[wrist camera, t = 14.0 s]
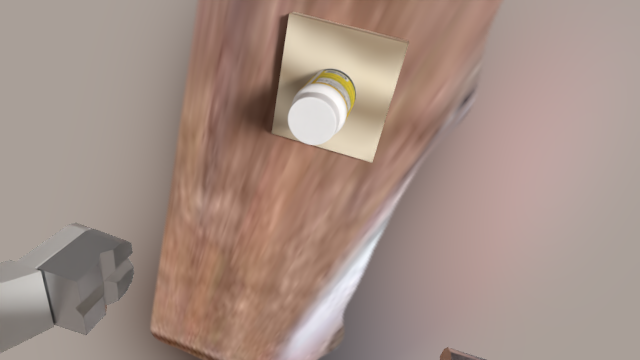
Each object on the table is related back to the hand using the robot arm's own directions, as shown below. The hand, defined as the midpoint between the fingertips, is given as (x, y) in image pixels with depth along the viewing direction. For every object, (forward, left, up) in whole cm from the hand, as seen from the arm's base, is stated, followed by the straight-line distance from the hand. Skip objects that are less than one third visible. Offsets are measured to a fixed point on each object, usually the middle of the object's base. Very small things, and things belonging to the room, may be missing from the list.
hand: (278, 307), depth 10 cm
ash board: (+4, -4, -31) cm, 32 cm away
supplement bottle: (+4, -4, -30) cm, 30 cm away
